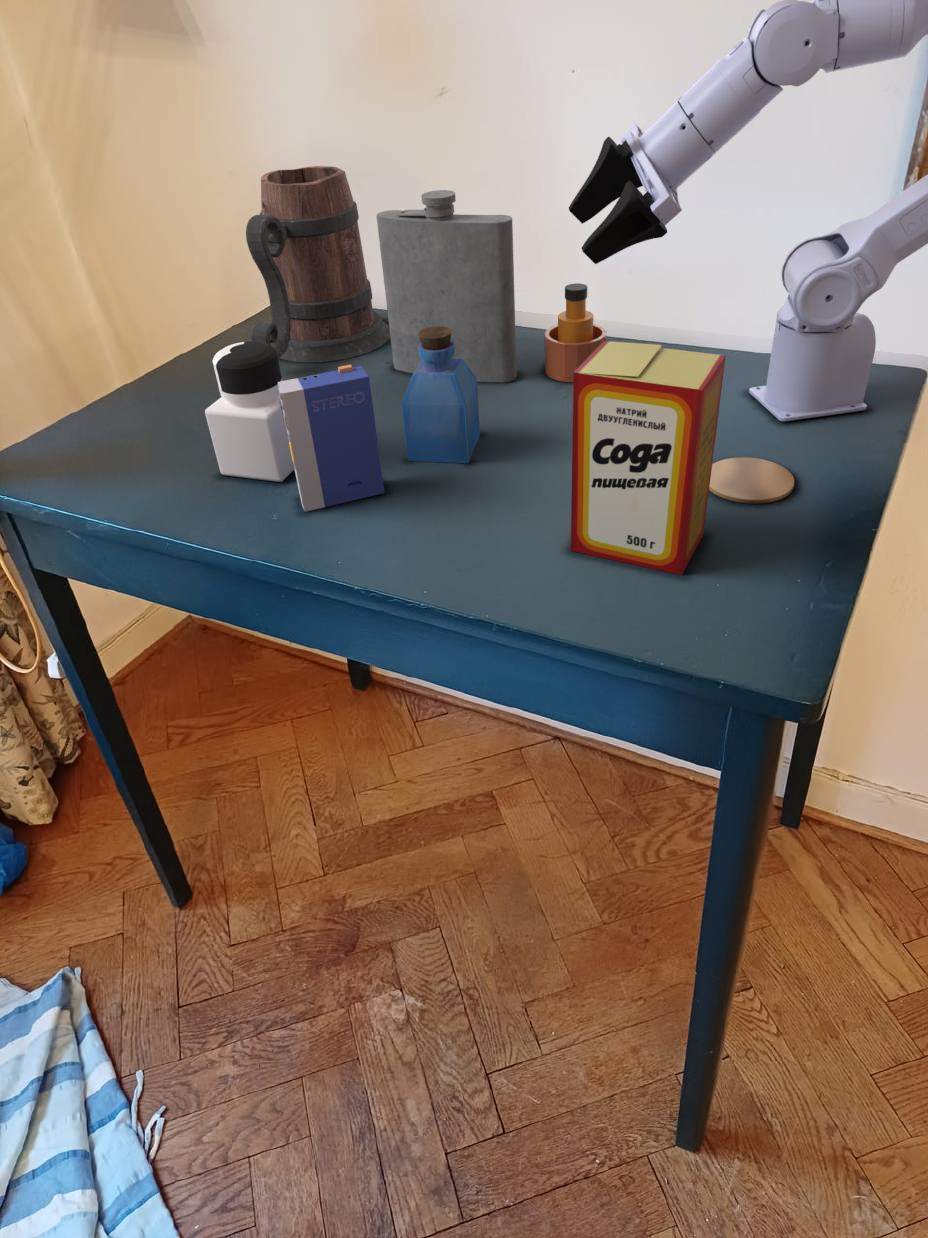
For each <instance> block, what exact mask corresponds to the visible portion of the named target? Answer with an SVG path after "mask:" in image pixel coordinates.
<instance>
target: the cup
mask: <svg viewBox="0 0 928 1238" xmlns="http://www.w3.org/2000/svg"><path fill="white" fill-rule="evenodd" d="M607 333H608V332H607V330H606V329H605V327H603V326H601V325H599V324H597V323H593V340H591V341H588V342H581V343H566V342H560V341H558V324H556V325H552V326H551V327H549V328H548V329H546V330H545V332H544V335H543V337H544V338H543V340H544V343H543V345H544V348H543V349H544V351H543V352H544V353H543V355H544V359H543V360H544V373H545V375H546V376H547V377H548V378H550V379H552V380H554V381H558V382H564V383H573V373H574V372H575V371H576V370H577V368H578V367H579V366H580V365H581V364H582V363H583V362H584V361H585V360H586V359H587V358H588V357H589V356H590V355H591V354H592V353H593V352H594V351H595V350H596V349H597V348H598V347H599V346H600V345H601V344H602V343H603V342H604V341H607Z"/></svg>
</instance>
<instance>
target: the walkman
mask: <svg viewBox="0 0 928 1238" xmlns="http://www.w3.org/2000/svg"><path fill="white" fill-rule="evenodd" d="M278 386H279V388H278V390H279V396H280V399H278V400H279V405H280V409H281V414H282V419H283V424H284V427H286V429H287V434H288V439H289V446H290V450H291V455H292V459H293V464H294V473H295V478H296V485H297V488H298V493H299V498H300V503H301V506H302V509H303V511H304V512H311V511H314V510H315V511H316V510H320V509H323V508H327V507H331V506H335V505H339V504H344V503H348V502H352V501H357V500H360V499H361V500H362V499H366V498H370V497H374V496H377V495H383V494H385V492H386V491H385V485H384V478H383V470H382V463H381V462H382V461H381V455H380V448H379V440H378V432H377V426H376V419H375V411H374V410H375V409H374V405H373V397H372V388H371V381H370V376H369V374H368V373H367V372H366V370H365V369H364V367H363V366H362V365H359V366H358V365H357V366H352V364H347V365H341V366H337V370H332V371H327V372H322V373H317V374H312V375H305V376H302V377H297V378H292V379H286V380H282V381H281V382H278Z"/></svg>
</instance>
